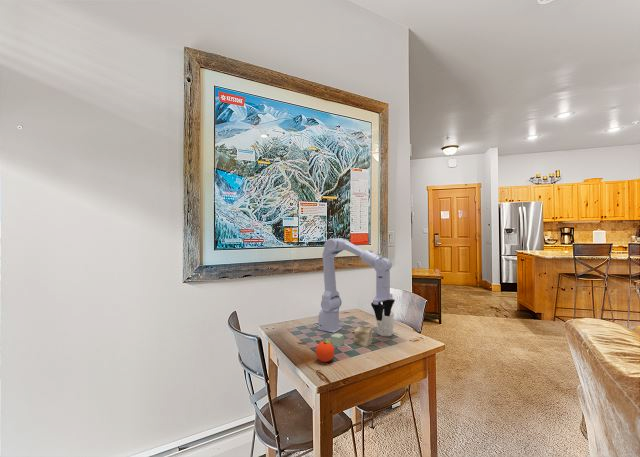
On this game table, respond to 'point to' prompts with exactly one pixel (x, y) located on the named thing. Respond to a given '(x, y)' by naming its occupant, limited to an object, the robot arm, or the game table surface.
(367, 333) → the slab upper
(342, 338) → the cube
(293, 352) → the game table surface
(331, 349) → the clementine
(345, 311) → the game table surface
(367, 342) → the slab lower
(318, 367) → the game table surface
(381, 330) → the white cup
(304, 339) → the game table surface
